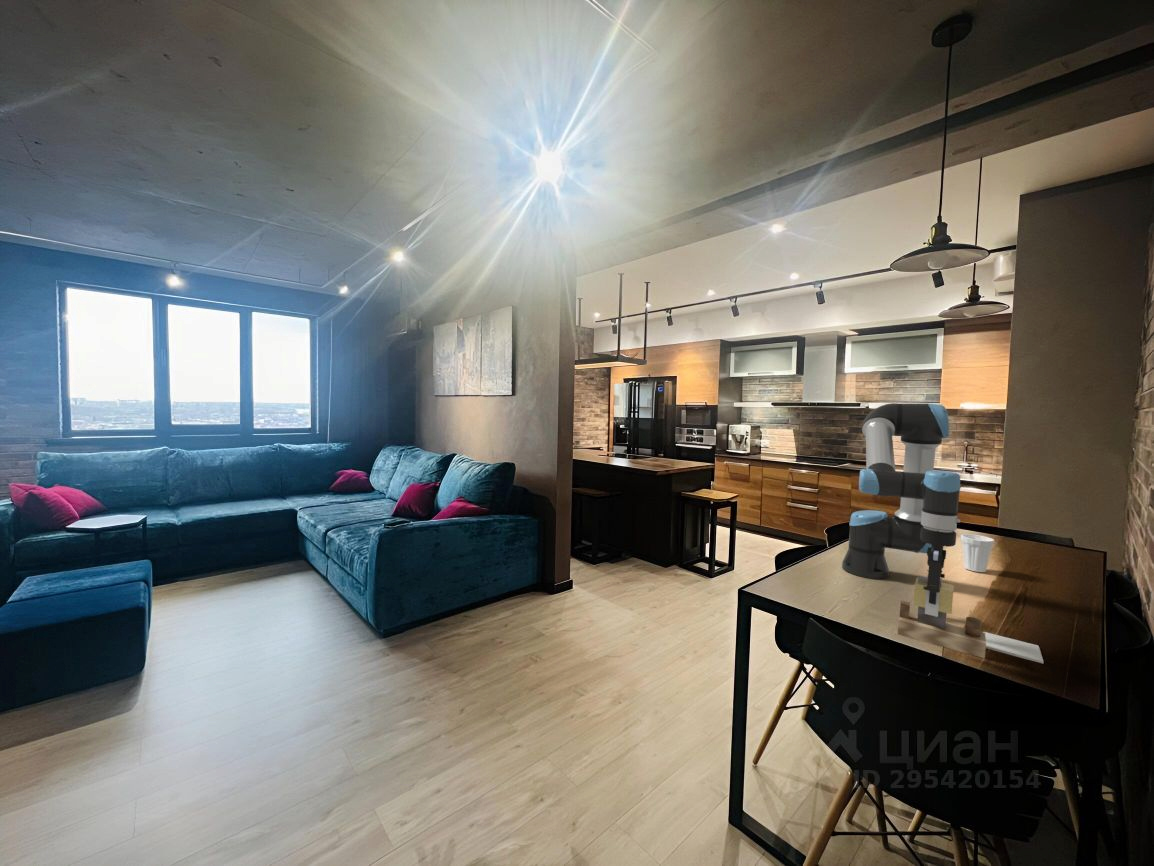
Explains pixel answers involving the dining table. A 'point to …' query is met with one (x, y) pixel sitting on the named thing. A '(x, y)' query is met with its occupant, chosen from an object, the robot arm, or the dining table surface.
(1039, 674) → the dining table surface
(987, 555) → the cup
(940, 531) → the robot arm
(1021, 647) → the mat
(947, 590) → the beige box
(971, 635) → the plane body
